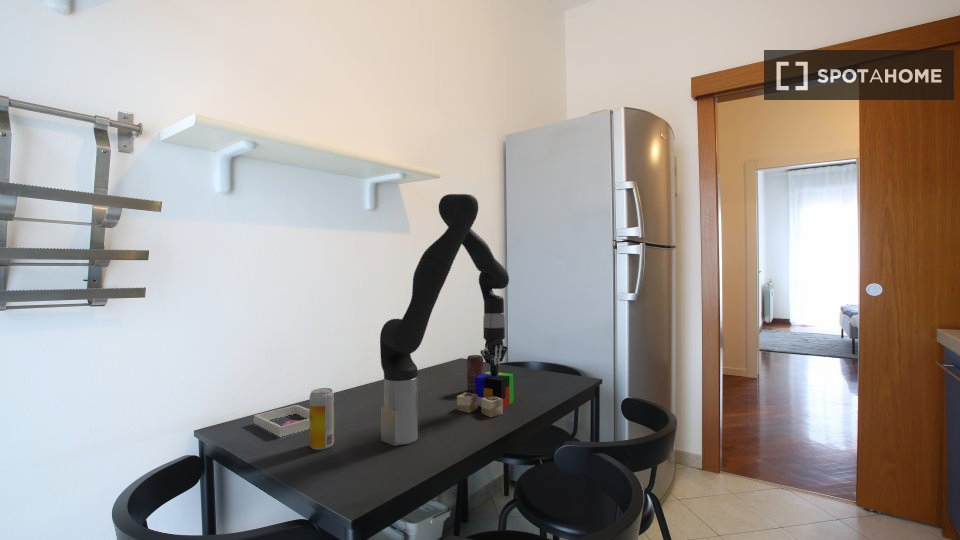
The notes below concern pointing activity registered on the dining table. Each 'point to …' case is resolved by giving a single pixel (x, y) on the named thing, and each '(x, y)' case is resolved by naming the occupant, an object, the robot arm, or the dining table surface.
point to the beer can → (321, 418)
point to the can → (473, 371)
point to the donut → (290, 422)
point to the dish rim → (285, 429)
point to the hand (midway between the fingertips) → (494, 375)
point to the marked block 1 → (467, 402)
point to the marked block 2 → (492, 406)
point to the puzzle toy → (495, 387)
